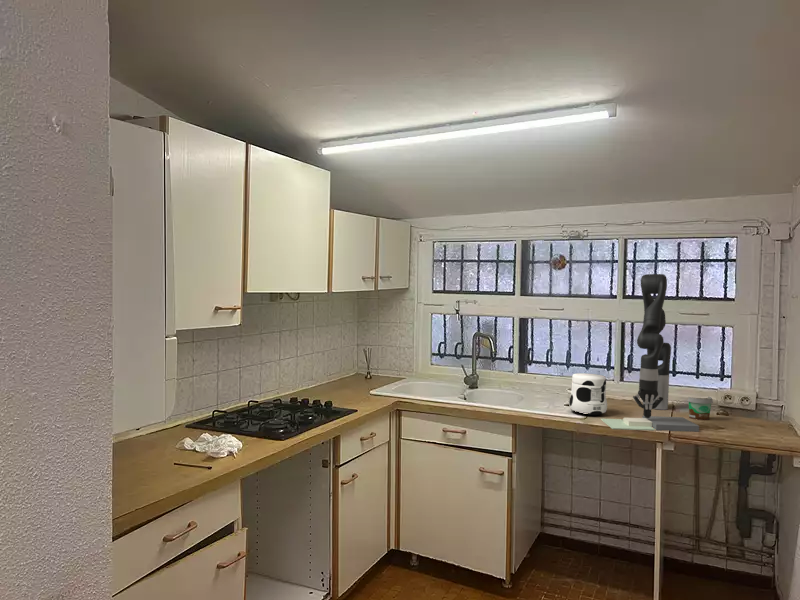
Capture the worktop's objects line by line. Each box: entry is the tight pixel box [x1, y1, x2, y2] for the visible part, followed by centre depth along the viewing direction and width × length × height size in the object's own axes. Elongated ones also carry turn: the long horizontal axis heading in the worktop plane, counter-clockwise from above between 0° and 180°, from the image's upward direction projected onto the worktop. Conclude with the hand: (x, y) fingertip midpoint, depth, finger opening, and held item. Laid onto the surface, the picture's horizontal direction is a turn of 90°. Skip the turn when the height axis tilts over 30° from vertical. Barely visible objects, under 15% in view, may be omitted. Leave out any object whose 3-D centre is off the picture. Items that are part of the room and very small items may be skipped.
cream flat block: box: [622, 417, 652, 427], centre depth 261 cm, size 7×10×2 cm
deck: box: [641, 415, 700, 433], centre depth 261 cm, size 16×18×2 cm
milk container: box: [568, 372, 608, 416], centre depth 283 cm, size 17×17×18 cm
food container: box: [687, 395, 714, 421], centre depth 277 cm, size 12×6×10 cm, turn 105°
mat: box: [600, 418, 656, 431], centre depth 262 cm, size 17×18×1 cm
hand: (647, 417), depth 262 cm, fingers closed
